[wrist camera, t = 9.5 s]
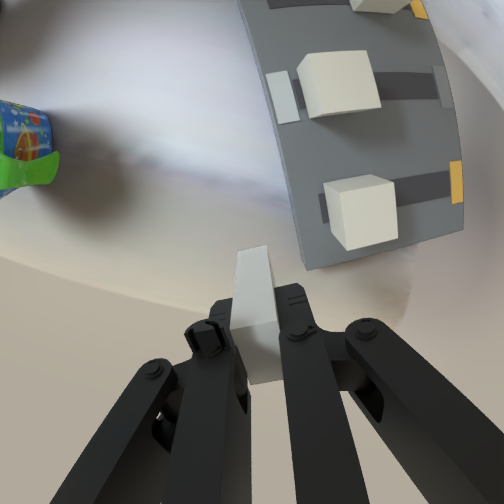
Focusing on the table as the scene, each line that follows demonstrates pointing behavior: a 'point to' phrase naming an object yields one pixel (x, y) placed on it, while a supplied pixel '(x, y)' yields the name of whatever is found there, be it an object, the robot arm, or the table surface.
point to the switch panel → (361, 119)
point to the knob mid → (338, 83)
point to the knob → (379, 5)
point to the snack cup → (25, 148)
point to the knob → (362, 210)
